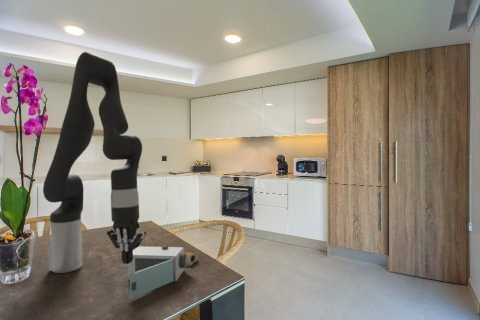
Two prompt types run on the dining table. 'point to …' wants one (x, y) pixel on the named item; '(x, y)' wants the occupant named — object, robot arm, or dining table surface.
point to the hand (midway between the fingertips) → (127, 262)
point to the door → (152, 278)
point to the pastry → (191, 258)
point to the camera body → (157, 258)
